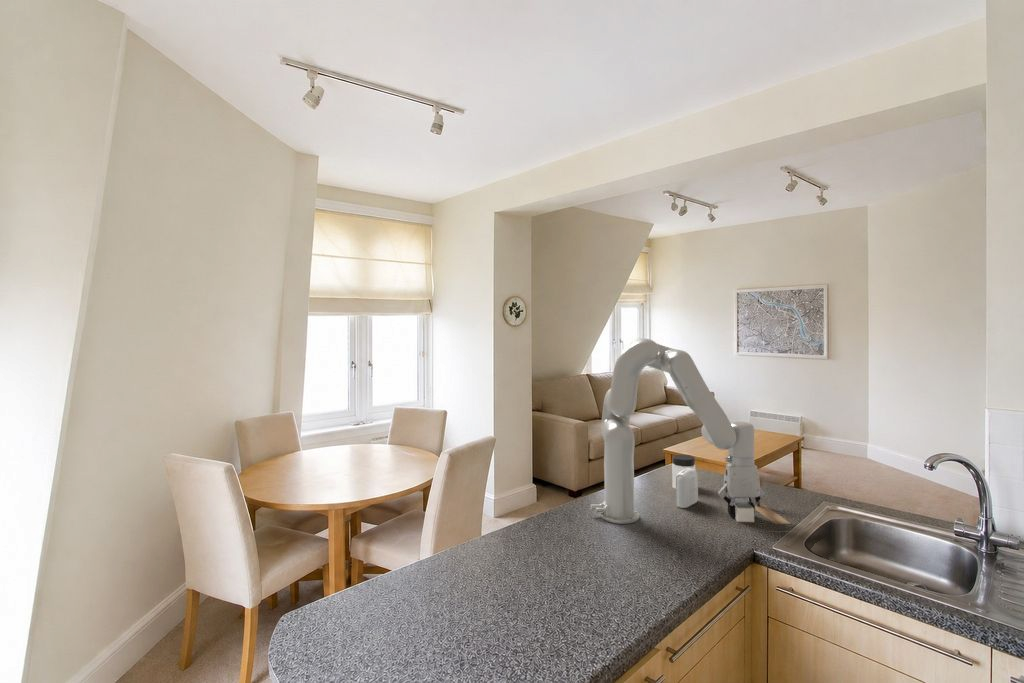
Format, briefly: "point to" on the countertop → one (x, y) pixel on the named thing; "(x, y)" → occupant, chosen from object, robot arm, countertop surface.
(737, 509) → the white and grey block
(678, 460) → the jar
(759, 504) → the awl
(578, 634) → the countertop surface
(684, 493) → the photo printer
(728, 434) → the robot arm
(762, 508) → the strip
